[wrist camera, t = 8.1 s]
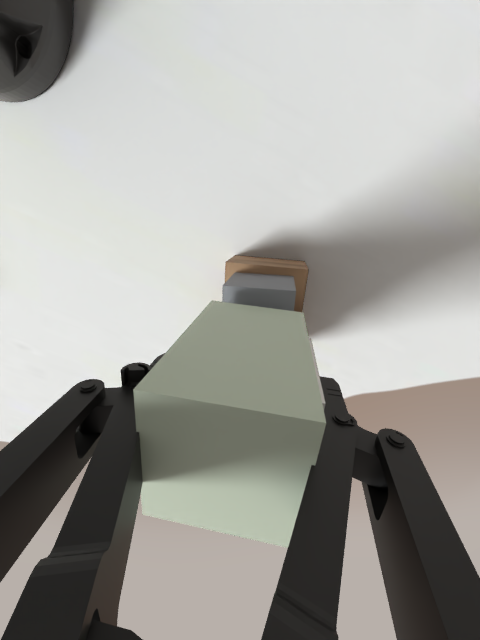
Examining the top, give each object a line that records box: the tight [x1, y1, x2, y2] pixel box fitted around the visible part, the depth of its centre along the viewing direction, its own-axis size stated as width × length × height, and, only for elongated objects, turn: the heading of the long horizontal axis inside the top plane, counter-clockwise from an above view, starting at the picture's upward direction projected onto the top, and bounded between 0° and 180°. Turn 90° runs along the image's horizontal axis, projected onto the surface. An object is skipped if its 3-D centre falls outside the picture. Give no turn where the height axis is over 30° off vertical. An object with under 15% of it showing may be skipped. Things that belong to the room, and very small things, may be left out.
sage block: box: [133, 301, 326, 548], centre depth 14 cm, size 6×6×10 cm
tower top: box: [222, 272, 296, 311], centre depth 22 cm, size 8×5×5 cm, turn 178°
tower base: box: [225, 255, 308, 312], centre depth 26 cm, size 9×7×5 cm
